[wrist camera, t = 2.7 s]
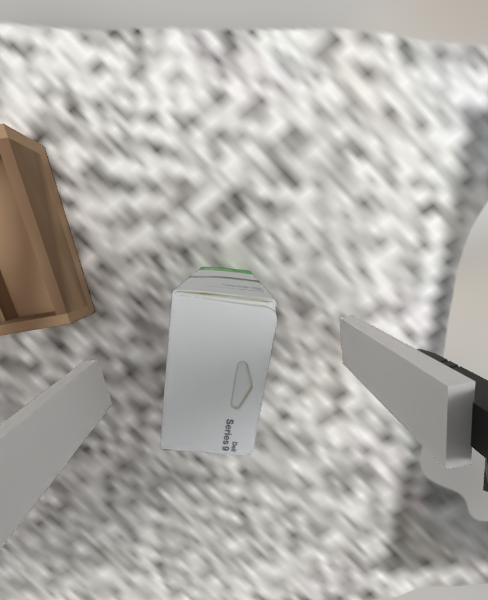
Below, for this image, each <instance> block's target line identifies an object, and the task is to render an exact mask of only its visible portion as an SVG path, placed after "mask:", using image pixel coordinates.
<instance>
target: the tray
mask: <svg viewBox="0 0 488 600" xmlns="http://www.w3.org/2000/svg"><path fill="white" fill-rule="evenodd" d="M94 312H95V310H94V307H93V303H92V300H91V297H90V294H89V290H88V287H87V284H86V281H85V277H84V274H83V271H82V268H81V264H80V261H79V258H78V255H77V251H76V248H75V245H74V242H73V238H72V235H71V232H70V229H69V225H68V222H67V219H66V216H65V213H64V209H63V206H62V203H61V200H60V196H59V193H58V190H57V187H56V183H55V180H54V177H53V174H52V170H51V167H50V164H49V161H48V157H47V154H46V151H45V148H44V146H42V145H40V144H39V143H37V142H35V141H33V140H32V139H30V138H28V137H26V136H24V135H23V134H21V133H19V132H17V131H16V130H14V129H12V128H10V127H8V126H7V125H5V124H0V336H1V335H7V334H13V333H19V332H25V331H31V330H36V329H42V328H48V327H54V326H60V325H65V324H71V323H73V322H75V321H77V320H79V319H81V318H83V317H85V316H88V315H90V314H92V313H94Z"/></svg>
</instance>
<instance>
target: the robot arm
mask: <svg viewBox="0 0 488 600" xmlns="http://www.w3.org/2000/svg"><path fill="white" fill-rule="evenodd" d="M339 321H340V334H341V347H342V360H343V364H344V365H345V366H346V367H347V368H348V369H349V370H350V371H351V372H352V374H353V375H354V376H355V377H356V378H357V379H358V380H359V381H360V382H361V383H362V384H363V385H364V386H365V387H366V388H367V389H368V390H369V391H370V392H371V393H372V394H373V395H374V396H375V397H376V398H377V399H378V400H379V401H380V402H381V403H382V404H383V405H384V406H385V407H386V408H387V409H388V410H389V411H390V413H391V414H392V415H393V416H394V417H395V418H396V419H397V420H398V421H399V422H400V423H401V424H402V425H403V426H404V427H405V428H406V429H407V430H408V431H409V432H410V433H411V434H412V435H413V436H414V437H415V438H416V439H417V440H418V441H419V442H420V443H421V444H422V445H423V446H424V447H425V448H426V449H427V450H428V452H429V453H430V454H431V455H433V456H434V458H435V459H436V460H437V461H438V462H439V463H440V464H441V465H442V466H443V467H444V468H445V469H449V468H455V467H460V466H465V465H471V453H472V447H473V448H474V449H475V450H477V451H478V452H479V453H480V454H481V455H483V456H484V457H485V458H486V459H485V473H484V487H483V490H485V491H488V380H486V379H484V378H482V377H480V376H478V375H476V374H474V373H472V372H470V371H468V370H466V369H464V368H462V367H458V365H457V364H454V363H453V362H451V361H447V359H445V358H443V357H441V356H439V355H437V354H435V353H432V352H428V351H425V350H422V349H415V348H413V347H411V346H409V345H407V344H405V343H404V342H402V341H400V340H398V339H396V338H394V337H393V336H391V335H389V334H387V333H385V332H383V331H382V330H380V329H378V328H376V327H374V326H372V325H370V324H369V323H367V322H365V321H363V320H361V319H359V318H358V317H356V316H354V315H351V316H345V317H339ZM111 405H112V401H111V398H110V395H109V392H108V389H107V386H106V382H105V379H104V376H103V373H102V370H101V367H100V364H99V360H98V359H94V360H88V361H83V362H82V363H81V364H79V365H78V366H77V367H75V368H74V369H73V370H71V371H70V372H69V373H67V374H66V375H65V376H64V377H62V378H61V379H60V380H58V381H57V382H56V383H54V384H53V385H52V386H50V387H49V388H48V389H46V390H45V391H44V392H42V393H41V394H40V395H39V396H37V397H36V398H35V399H33V400H32V401H31V402H29V403H28V404H27V405H25V406H24V407H23V408H21V409H20V410H19V411H17V412H16V413H15V414H14V415H12V416H11V417H10V418H8V419H7V420H6V421H4V422H3V423H2V424H0V549H1V548H2V547H3V545H4V544H5V543H6V542H7V540H8V539H9V538H10V536H11V535H12V534H13V532H14V531H15V530H16V529H17V527H18V526H19V525H20V523H21V522H22V521H23V519H24V518H25V517H26V516H27V514H28V513H29V512H30V510H31V509H32V508H33V506H34V505H35V504H36V503H37V501H38V500H39V499H40V497H41V496H42V495H43V493H44V492H45V491H46V490H47V488H48V487H49V486H50V484H51V483H52V482H53V480H54V479H55V478H56V477H57V475H58V474H59V473H60V471H61V470H62V469H63V467H64V466H65V465H66V463H67V462H68V461H69V460H70V458H71V457H72V456H73V454H74V453H75V452H76V450H77V449H78V448H79V447H80V445H81V444H82V443H83V441H84V440H85V439H86V437H87V436H88V435H89V434H90V432H91V431H92V430H93V428H94V427H95V426H96V424H97V423H98V422H99V421H100V419H101V418H102V417H103V415H104V414H105V413H106V411H107V410H108V409H109V408H110V406H111Z"/></svg>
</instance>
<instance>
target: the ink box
mask: <svg viewBox="0 0 488 600" xmlns="http://www.w3.org/2000/svg"><path fill="white" fill-rule="evenodd" d="M276 304H277V303H276V301H275V299H274V298H273V297H272V296H271V294H270V293H269V292H268V291H267V289H266V288H265V287H264V286H263V285H262V284H261V283H260V282H259V281H258V280H257V279H256V277H255V276H254V275H253V274H252V273H251V272H250V271H244V270H235V269H226V268H214V267H201V268H200V269H199V270H198V271H196V272H195V273H194V274H193V275H191V276H190V277H189V278H188V279H187V280H186V281H184V282H183V283H182V284H181V285H180V286H178V287H177V288H176V289H175V290H174V291H173V293H172V301H171V314H170V325H169V337H168V350H167V363H166V375H165V388H164V400H163V412H162V425H161V443H160V448H161V449H163V450H175V451H194V452H206V453H217V454H229V455H250V454H251V453H252V451H253V449H254V446H255V438H256V433H257V426H258V421H259V415H260V410H261V405H262V400H263V394H264V389H265V384H266V378H267V373H268V367H269V362H270V356H271V350H272V345H273V340H274V334H275V330H276V326H277V315H276V313H275V311H276Z"/></svg>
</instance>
